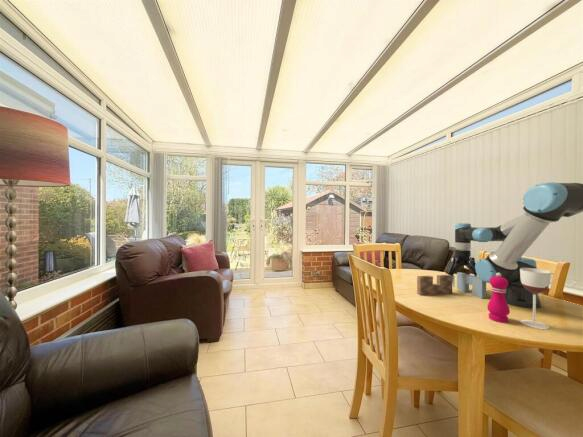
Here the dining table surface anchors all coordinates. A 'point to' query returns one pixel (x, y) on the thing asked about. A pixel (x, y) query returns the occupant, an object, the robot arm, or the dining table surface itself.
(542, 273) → the wineglass
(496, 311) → the pepper mill
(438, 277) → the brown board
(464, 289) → the crosspiece
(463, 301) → the dining table surface
